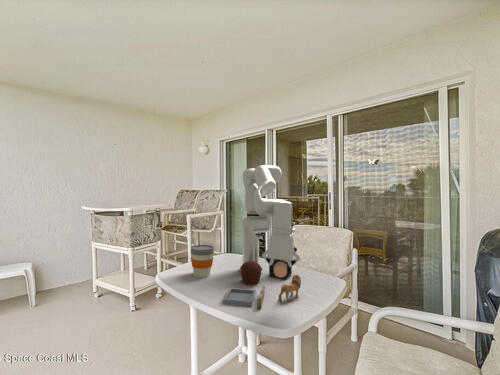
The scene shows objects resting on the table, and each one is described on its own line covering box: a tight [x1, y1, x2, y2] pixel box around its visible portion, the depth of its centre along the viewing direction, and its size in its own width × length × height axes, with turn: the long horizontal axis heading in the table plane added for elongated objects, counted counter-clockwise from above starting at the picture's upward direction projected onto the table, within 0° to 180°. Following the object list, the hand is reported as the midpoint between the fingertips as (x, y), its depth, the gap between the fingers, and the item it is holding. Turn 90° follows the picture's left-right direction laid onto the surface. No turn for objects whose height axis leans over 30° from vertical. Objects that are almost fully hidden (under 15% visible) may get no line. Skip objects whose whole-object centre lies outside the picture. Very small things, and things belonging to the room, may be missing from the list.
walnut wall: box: [257, 285, 266, 310], centre depth 102 cm, size 13×1×4 cm, turn 171°
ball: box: [273, 262, 288, 277], centre depth 99 cm, size 6×6×6 cm
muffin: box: [239, 261, 263, 286], centre depth 124 cm, size 12×11×10 cm
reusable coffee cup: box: [190, 244, 215, 279], centre depth 133 cm, size 13×13×15 cm
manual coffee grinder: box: [268, 246, 298, 280], centre depth 133 cm, size 16×11×18 cm
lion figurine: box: [278, 273, 302, 303], centre depth 107 cm, size 15×5×9 cm, turn 139°
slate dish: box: [222, 287, 257, 307], centre depth 105 cm, size 12×12×2 cm
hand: (280, 274), depth 99 cm, fingers closed on ball, 5 cm apart
